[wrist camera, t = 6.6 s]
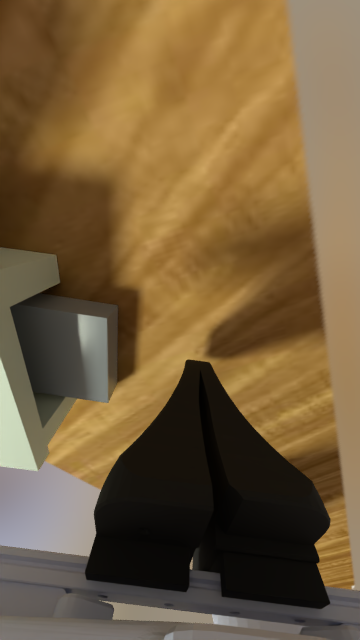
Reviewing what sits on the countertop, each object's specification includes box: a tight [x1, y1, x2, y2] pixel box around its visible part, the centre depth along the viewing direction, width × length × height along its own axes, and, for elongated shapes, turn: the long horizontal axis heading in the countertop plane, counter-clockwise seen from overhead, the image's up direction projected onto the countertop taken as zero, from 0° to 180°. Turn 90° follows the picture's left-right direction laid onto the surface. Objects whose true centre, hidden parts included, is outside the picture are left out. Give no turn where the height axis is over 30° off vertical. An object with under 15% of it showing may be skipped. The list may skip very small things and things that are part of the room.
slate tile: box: [10, 293, 118, 403], centre depth 12 cm, size 6×10×2 cm, turn 82°
